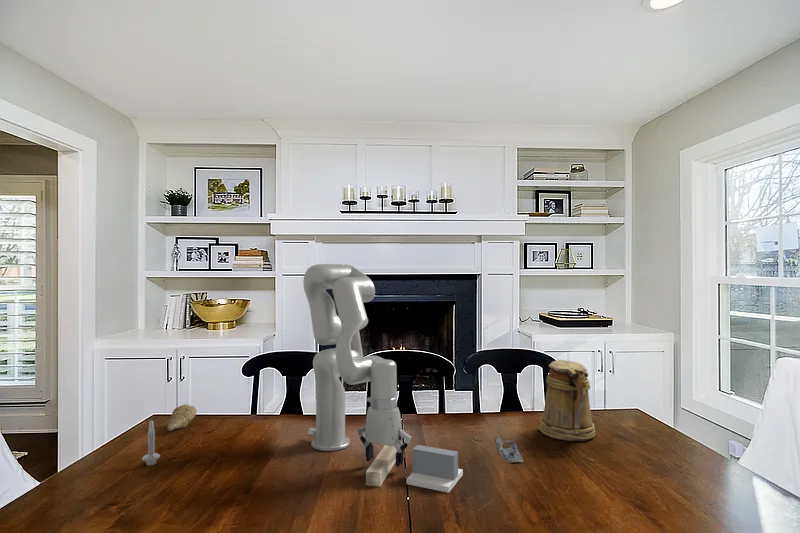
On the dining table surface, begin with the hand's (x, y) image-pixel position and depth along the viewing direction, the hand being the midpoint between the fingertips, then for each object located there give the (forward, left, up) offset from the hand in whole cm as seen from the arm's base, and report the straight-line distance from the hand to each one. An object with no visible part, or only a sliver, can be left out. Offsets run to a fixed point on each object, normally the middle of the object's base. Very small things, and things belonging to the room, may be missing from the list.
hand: (384, 462), depth 138 cm
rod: (0, 0, -2) cm, 2 cm away
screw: (-65, -26, -2) cm, 70 cm away
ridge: (+16, 0, -2) cm, 16 cm away
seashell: (-84, 0, -2) cm, 84 cm away
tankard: (+46, +53, -2) cm, 70 cm away
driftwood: (+30, +30, -3) cm, 42 cm away
